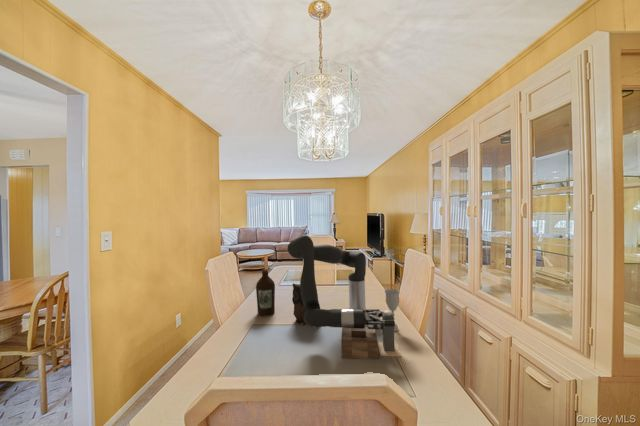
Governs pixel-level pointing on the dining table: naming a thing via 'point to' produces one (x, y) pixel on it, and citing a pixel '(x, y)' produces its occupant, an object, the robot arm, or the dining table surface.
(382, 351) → the pad
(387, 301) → the chalice
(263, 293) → the olive oil
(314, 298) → the robot arm
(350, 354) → the wooden square socket block
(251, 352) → the dining table surface
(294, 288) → the brown owl figurine
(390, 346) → the plug
